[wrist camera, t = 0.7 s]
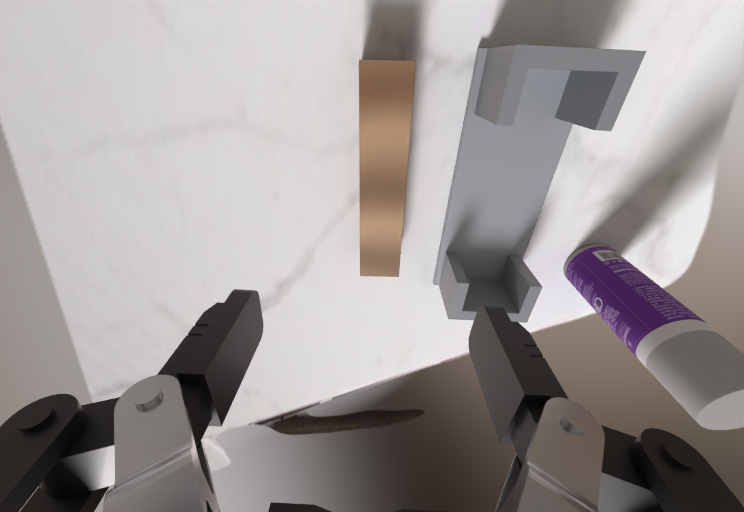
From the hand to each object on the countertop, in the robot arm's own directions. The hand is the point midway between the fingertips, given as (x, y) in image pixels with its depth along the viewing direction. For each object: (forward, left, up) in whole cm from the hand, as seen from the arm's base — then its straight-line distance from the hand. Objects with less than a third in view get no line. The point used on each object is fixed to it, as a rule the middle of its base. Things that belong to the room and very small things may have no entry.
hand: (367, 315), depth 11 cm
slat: (0, +1, -17) cm, 17 cm away
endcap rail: (+1, +11, -17) cm, 20 cm away
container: (+8, +22, -17) cm, 29 cm away
